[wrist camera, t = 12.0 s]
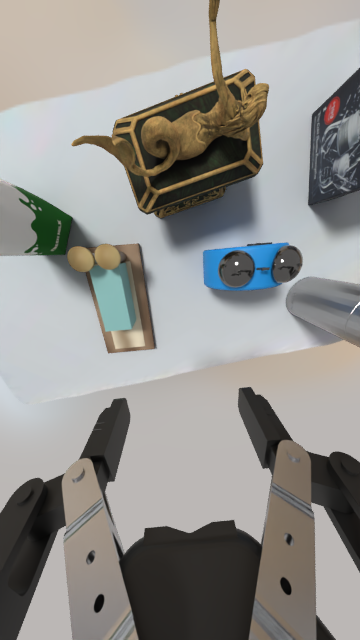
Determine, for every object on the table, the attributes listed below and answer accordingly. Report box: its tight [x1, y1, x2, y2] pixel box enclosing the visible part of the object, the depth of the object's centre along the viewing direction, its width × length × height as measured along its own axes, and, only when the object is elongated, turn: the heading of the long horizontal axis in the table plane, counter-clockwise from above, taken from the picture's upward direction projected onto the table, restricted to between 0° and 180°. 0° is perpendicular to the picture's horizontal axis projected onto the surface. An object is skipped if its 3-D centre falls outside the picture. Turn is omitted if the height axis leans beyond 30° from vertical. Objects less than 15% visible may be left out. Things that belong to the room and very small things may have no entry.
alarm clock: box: [203, 242, 303, 291], centre depth 28 cm, size 13×6×15 cm, turn 95°
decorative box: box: [71, 0, 269, 218], centre depth 20 cm, size 20×10×20 cm, turn 107°
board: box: [67, 244, 155, 353], centre depth 33 cm, size 11×23×9 cm, turn 5°
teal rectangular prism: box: [89, 263, 136, 332], centre depth 32 cm, size 5×12×5 cm, turn 5°
